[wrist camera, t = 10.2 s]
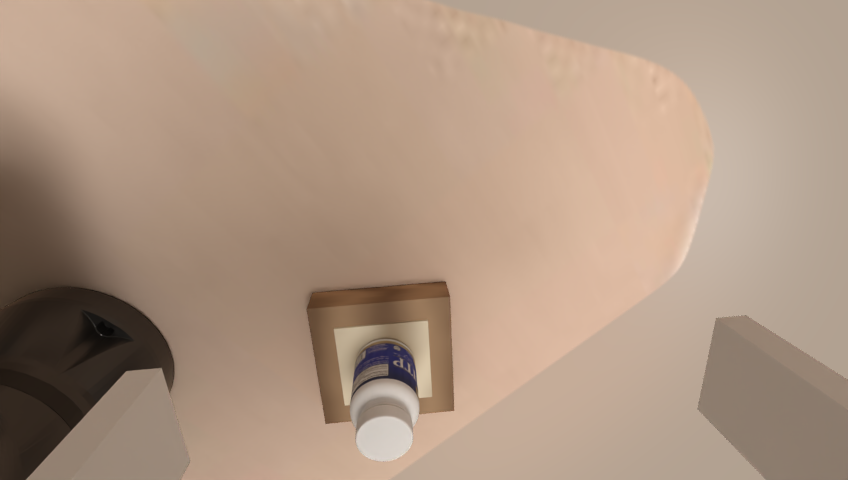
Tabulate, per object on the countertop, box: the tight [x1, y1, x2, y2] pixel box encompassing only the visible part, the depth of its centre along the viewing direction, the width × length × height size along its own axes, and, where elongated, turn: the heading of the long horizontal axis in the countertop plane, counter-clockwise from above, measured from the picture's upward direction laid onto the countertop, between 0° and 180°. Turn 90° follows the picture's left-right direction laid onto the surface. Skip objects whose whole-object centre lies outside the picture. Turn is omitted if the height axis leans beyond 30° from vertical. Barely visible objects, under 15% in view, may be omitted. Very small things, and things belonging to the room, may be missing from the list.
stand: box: [307, 282, 454, 424], centre depth 39 cm, size 12×12×3 cm
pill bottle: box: [350, 339, 419, 462], centre depth 33 cm, size 5×5×9 cm
